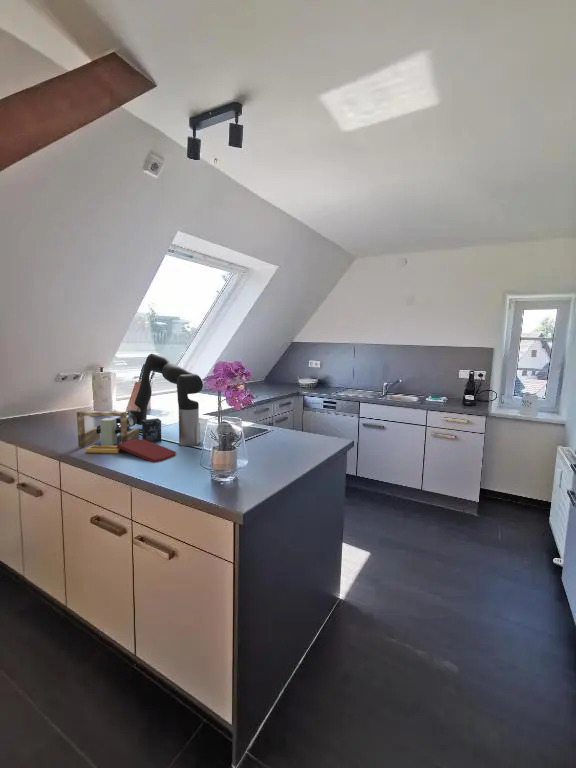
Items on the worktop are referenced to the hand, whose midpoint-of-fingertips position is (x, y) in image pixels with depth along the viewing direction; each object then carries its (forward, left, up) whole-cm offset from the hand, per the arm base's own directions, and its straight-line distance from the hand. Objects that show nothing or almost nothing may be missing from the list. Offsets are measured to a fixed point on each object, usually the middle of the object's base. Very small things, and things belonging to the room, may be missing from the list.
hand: (106, 431), depth 171 cm
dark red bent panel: (-22, +11, -7) cm, 26 cm away
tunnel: (0, -3, -7) cm, 7 cm away
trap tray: (-4, +9, -7) cm, 12 cm away
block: (0, -2, -7) cm, 7 cm away
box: (-18, -9, -7) cm, 21 cm away
